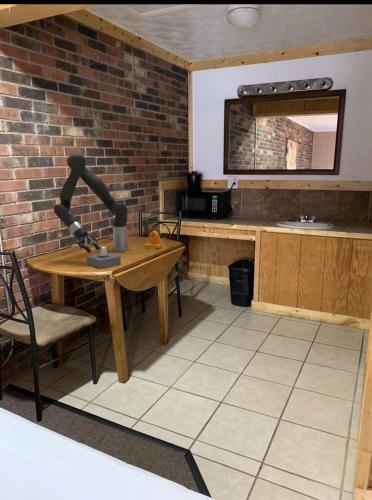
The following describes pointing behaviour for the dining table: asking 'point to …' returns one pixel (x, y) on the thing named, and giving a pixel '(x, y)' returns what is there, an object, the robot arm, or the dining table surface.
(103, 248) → the steel pin
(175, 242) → the dining table surface
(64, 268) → the dining table surface
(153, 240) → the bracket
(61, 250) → the dining table surface
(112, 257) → the socket block
